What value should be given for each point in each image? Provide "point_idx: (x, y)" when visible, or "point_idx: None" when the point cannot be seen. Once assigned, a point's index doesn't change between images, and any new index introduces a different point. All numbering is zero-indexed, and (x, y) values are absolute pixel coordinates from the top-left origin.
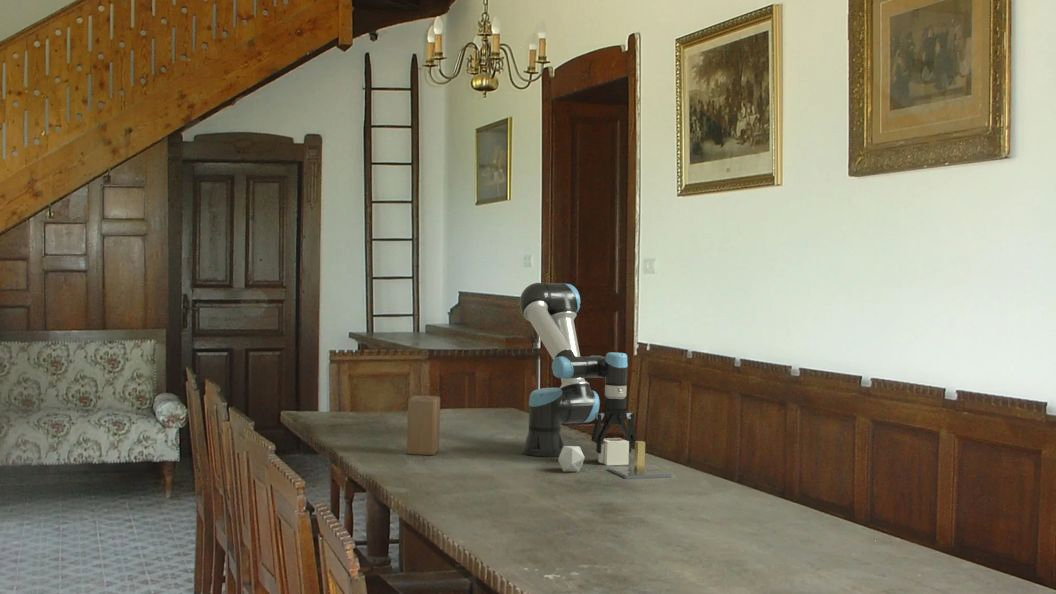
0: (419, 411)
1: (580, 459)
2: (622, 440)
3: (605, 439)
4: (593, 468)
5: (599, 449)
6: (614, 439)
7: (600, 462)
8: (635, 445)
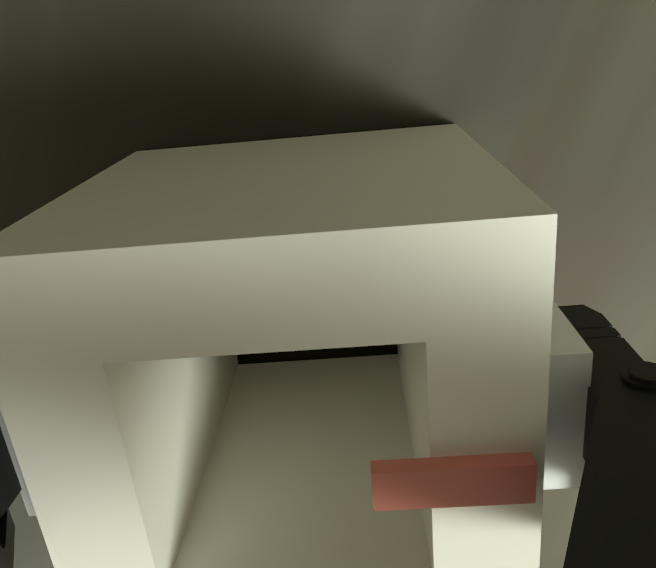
0: None
1: None
2: (452, 543)
3: (95, 414)
4: (18, 548)
5: None
6: (341, 343)
7: None
8: None
